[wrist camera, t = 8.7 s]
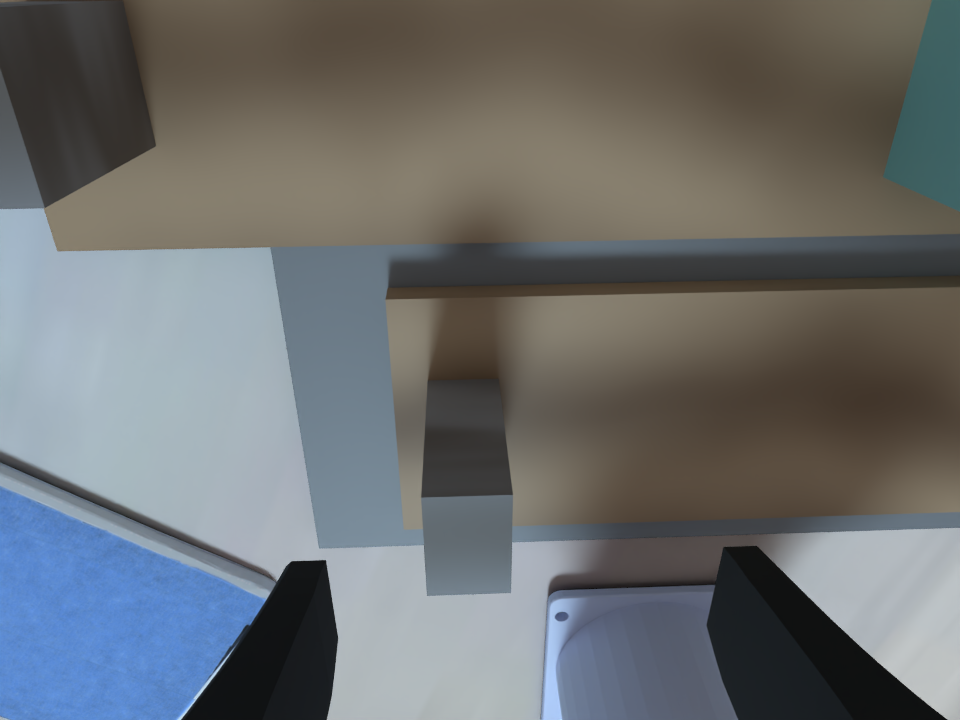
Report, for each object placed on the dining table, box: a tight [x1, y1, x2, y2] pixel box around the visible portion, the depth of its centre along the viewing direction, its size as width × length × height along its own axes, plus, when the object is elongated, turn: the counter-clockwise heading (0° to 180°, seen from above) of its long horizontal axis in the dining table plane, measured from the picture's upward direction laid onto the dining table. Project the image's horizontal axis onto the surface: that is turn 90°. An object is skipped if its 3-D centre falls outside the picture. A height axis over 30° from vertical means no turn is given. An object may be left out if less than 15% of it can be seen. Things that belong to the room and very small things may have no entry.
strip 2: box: [385, 276, 960, 596], centre depth 19 cm, size 8×28×6 cm, turn 90°
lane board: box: [271, 234, 960, 548], centre depth 19 cm, size 20×34×1 cm, turn 90°
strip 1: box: [0, 0, 960, 251], centre depth 14 cm, size 8×28×6 cm, turn 90°
